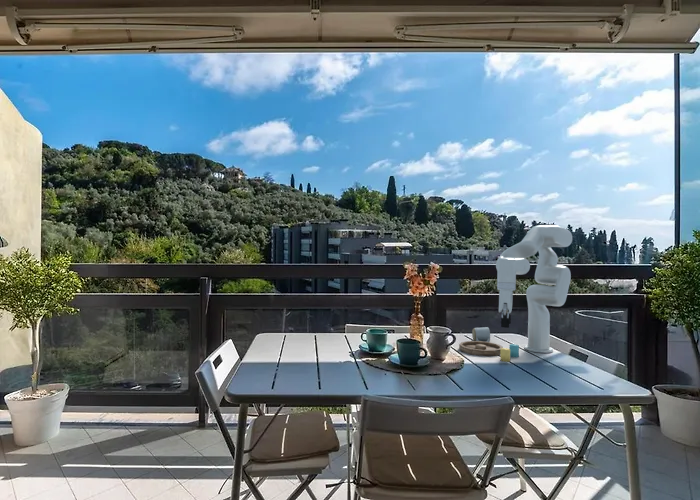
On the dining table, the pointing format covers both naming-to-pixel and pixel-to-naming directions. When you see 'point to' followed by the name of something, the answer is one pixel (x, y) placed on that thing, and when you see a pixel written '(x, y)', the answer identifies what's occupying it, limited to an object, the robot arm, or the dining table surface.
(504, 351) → the ochre bead
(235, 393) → the dining table surface
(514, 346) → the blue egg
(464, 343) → the groove tray
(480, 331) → the ceramic mug
